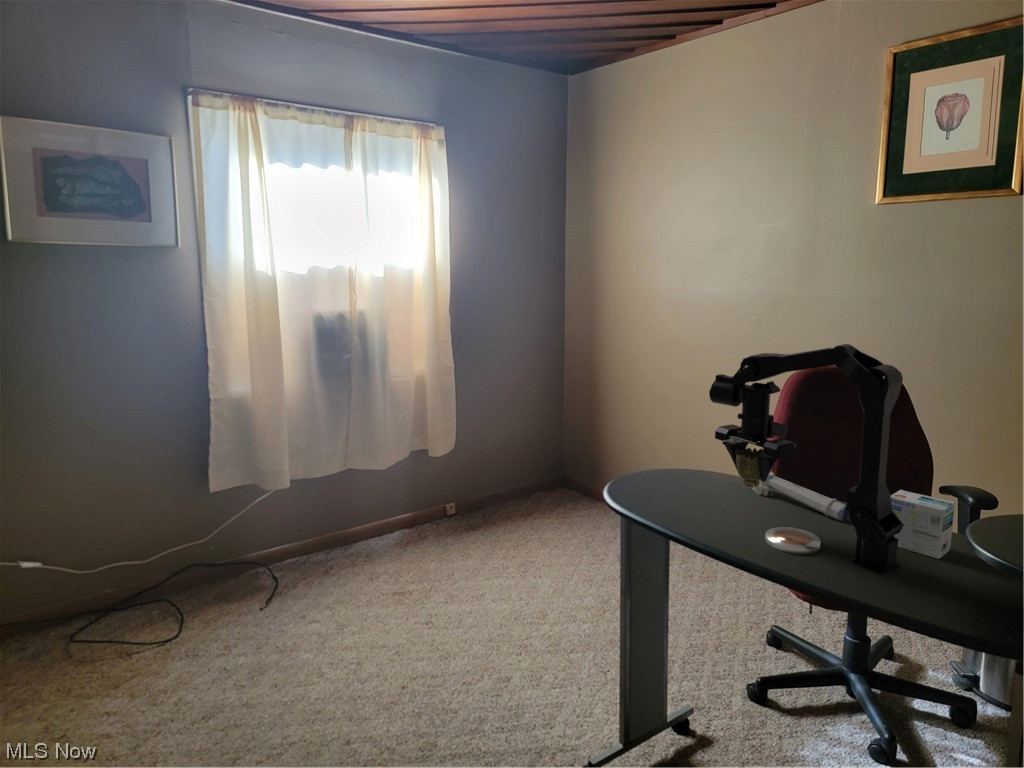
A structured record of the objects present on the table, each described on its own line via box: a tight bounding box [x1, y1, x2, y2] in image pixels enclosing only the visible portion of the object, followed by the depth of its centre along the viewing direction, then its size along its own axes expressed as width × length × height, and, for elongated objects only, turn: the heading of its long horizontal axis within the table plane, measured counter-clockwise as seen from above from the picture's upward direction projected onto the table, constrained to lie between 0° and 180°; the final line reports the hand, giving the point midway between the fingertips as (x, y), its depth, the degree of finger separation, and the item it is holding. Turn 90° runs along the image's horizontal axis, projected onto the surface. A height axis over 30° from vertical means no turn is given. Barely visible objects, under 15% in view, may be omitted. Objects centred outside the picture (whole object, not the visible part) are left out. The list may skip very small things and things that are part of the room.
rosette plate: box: [764, 526, 821, 555], centre depth 143 cm, size 11×11×1 cm
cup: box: [736, 447, 764, 488], centre depth 151 cm, size 8×7×8 cm
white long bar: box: [751, 471, 849, 522], centre depth 164 cm, size 5×7×25 cm
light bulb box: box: [890, 489, 956, 560], centre depth 139 cm, size 11×7×11 cm, turn 41°
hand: (751, 476), depth 151 cm, fingers closed on cup, 6 cm apart
